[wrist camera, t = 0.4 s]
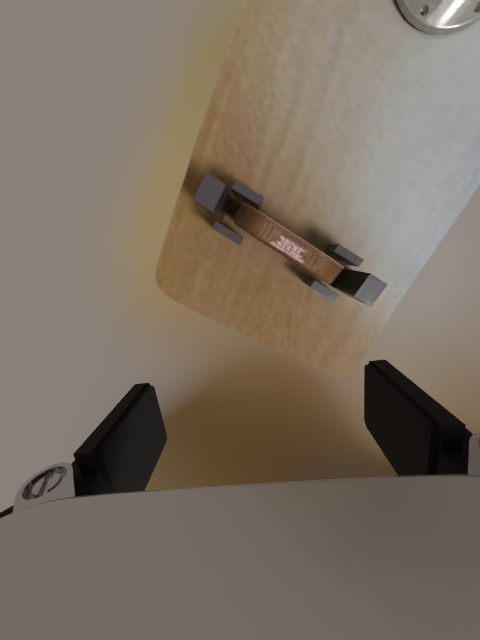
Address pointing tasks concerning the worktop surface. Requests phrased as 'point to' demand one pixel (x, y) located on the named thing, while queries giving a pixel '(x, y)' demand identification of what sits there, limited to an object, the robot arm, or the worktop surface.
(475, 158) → the worktop surface
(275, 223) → the tin
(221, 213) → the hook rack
